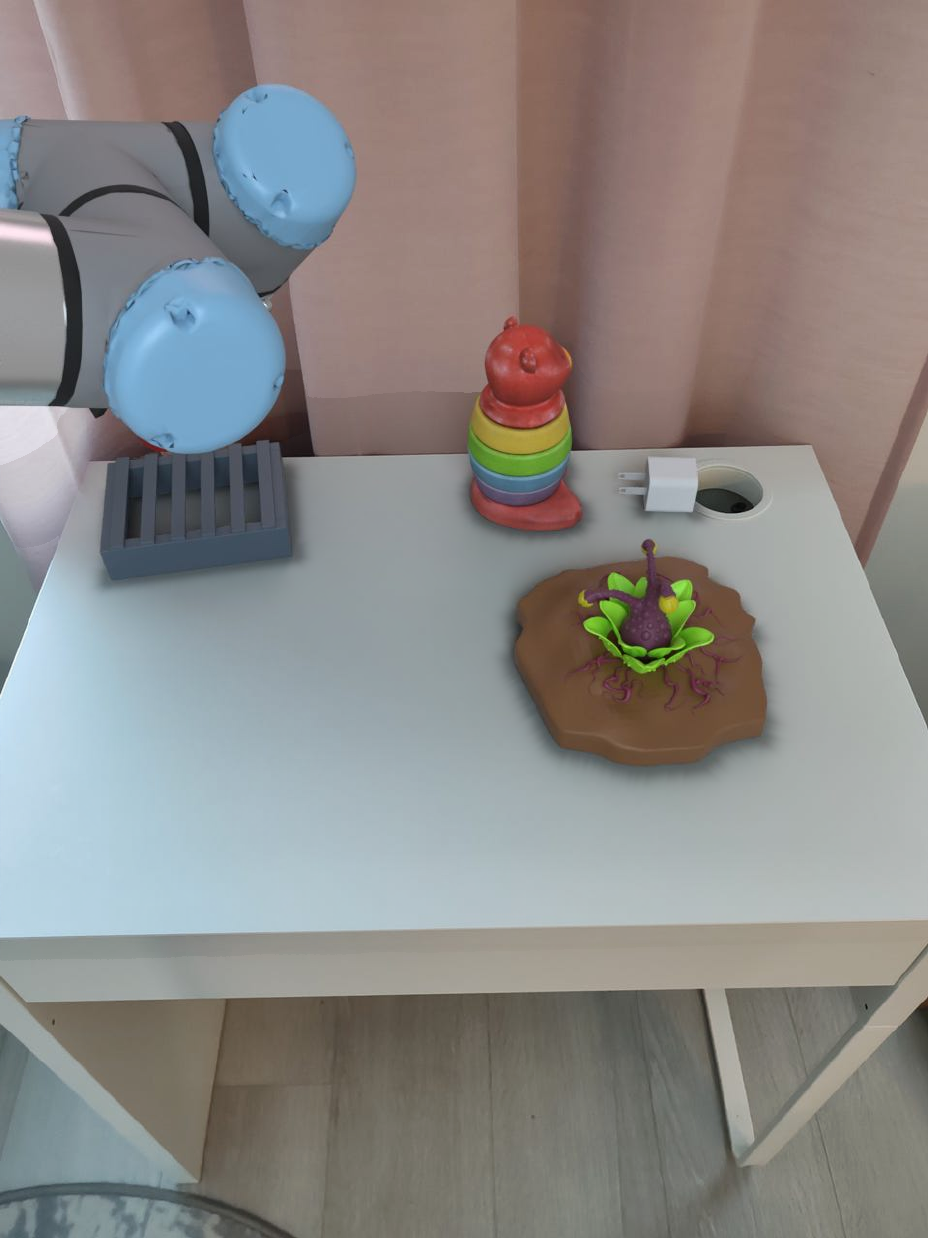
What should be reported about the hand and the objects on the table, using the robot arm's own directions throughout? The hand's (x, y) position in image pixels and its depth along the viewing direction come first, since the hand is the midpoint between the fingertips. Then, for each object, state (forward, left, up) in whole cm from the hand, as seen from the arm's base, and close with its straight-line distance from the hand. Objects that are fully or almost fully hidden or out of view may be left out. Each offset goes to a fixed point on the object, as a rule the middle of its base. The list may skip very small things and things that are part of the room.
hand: (143, 375), depth 83 cm
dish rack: (+2, -2, -15) cm, 15 cm away
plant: (+37, -26, -15) cm, 48 cm away
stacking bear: (+32, -4, -15) cm, 35 cm away
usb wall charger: (+44, -7, -15) cm, 47 cm away
